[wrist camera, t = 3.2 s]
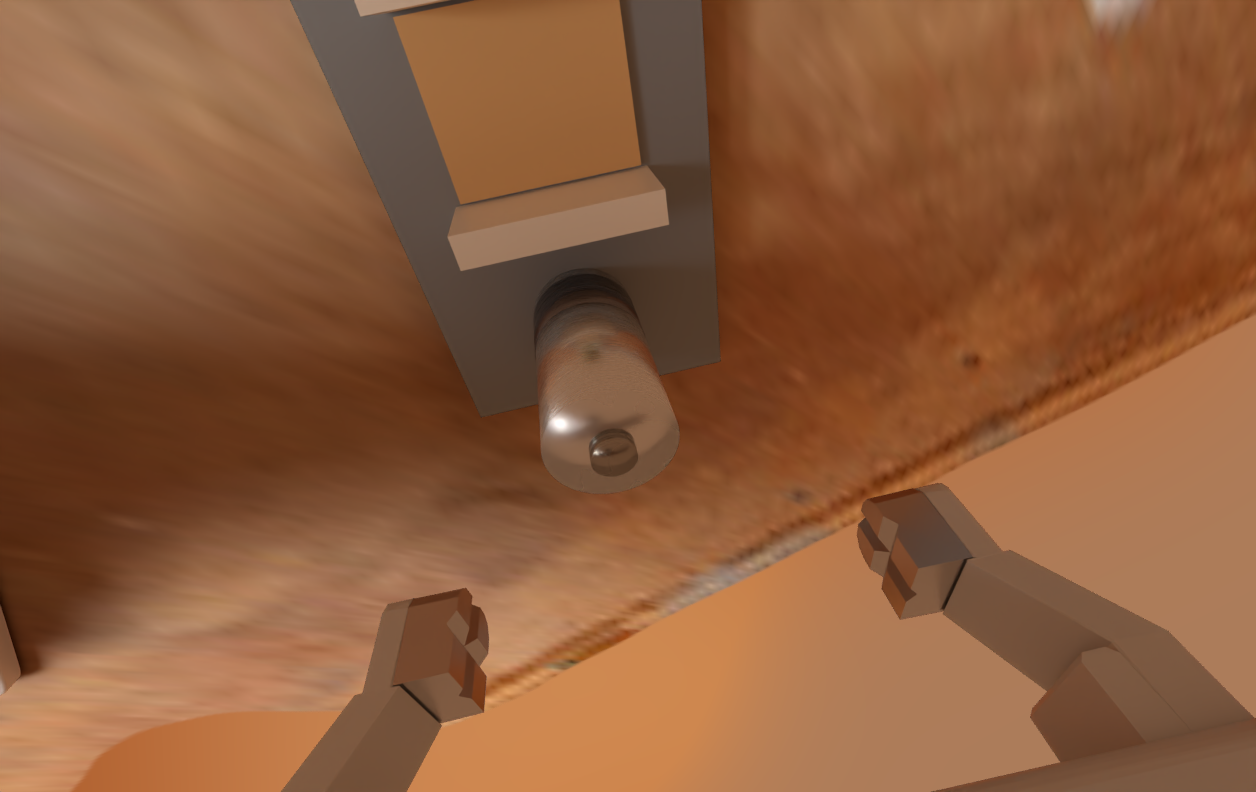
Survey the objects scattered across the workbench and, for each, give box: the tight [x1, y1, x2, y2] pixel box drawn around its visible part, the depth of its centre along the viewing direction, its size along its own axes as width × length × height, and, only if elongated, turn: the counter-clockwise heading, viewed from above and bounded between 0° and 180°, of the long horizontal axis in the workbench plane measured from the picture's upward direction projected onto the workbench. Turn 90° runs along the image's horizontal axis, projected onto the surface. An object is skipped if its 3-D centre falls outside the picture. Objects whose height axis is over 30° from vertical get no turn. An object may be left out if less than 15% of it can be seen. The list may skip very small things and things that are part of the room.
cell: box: [533, 268, 680, 494], centre depth 16 cm, size 4×4×8 cm
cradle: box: [354, 0, 669, 271], centre depth 13 cm, size 7×6×2 cm
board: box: [290, 0, 721, 417], centre depth 14 cm, size 22×10×1 cm, turn 9°
